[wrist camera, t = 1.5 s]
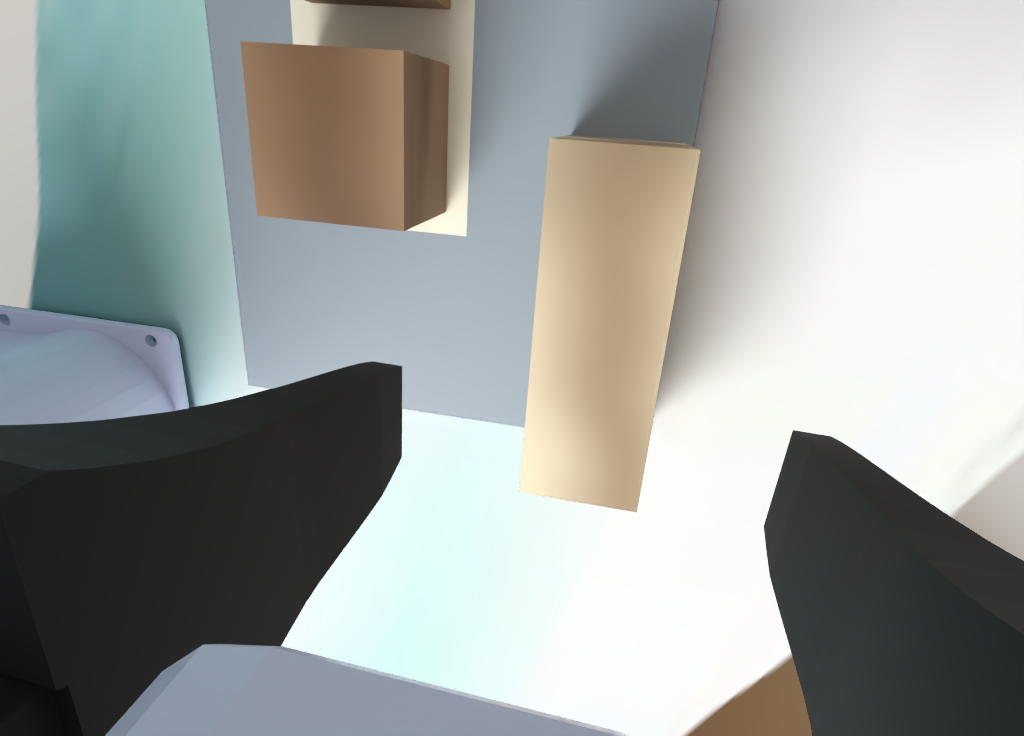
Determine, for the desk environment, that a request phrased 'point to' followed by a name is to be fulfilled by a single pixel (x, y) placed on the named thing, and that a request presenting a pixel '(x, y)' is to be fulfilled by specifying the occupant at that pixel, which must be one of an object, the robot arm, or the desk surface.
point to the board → (470, 185)
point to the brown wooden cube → (347, 134)
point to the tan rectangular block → (603, 313)
